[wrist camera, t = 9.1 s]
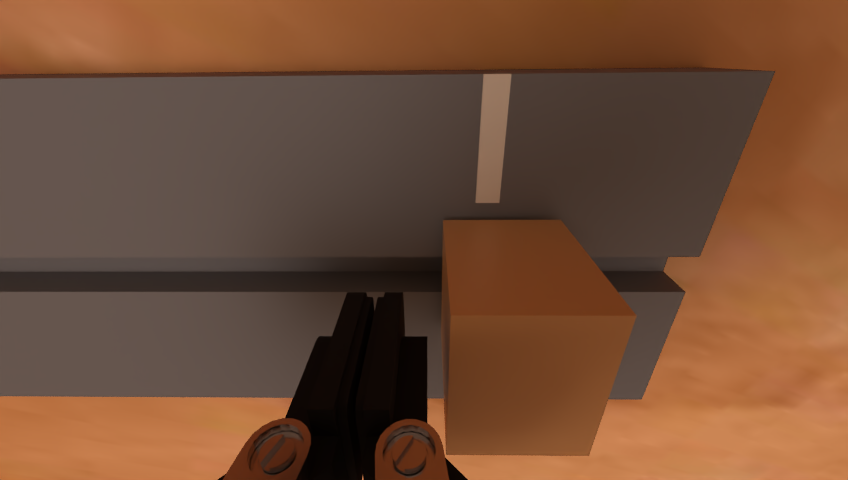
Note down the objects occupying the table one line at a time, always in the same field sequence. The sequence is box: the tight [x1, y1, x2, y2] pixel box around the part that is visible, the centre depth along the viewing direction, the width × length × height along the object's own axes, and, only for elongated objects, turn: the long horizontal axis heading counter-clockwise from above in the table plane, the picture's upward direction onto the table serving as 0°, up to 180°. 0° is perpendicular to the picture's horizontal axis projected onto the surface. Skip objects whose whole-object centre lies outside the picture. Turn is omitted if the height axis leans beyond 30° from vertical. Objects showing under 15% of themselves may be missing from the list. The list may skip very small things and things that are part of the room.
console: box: [0, 68, 775, 399], centre depth 15 cm, size 32×14×3 cm, turn 91°
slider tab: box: [441, 220, 637, 456], centre depth 12 cm, size 4×5×7 cm
